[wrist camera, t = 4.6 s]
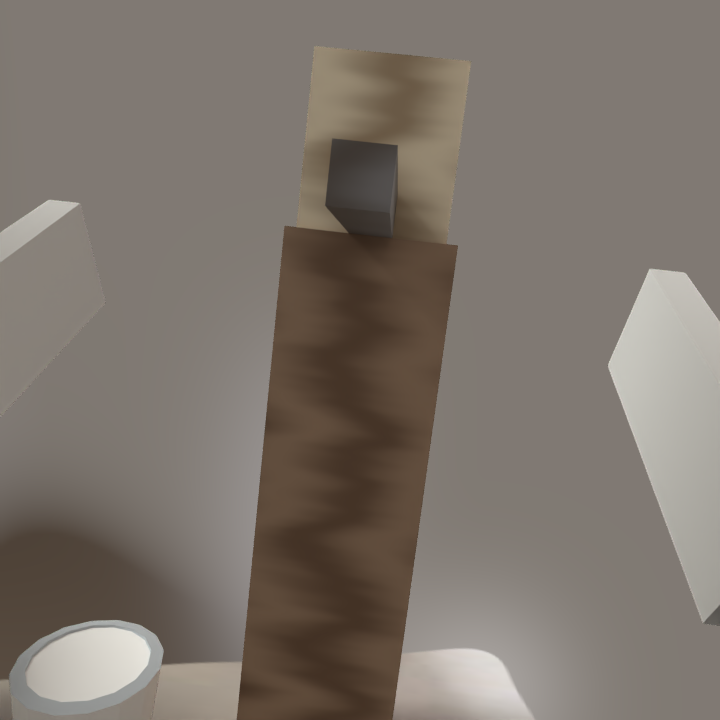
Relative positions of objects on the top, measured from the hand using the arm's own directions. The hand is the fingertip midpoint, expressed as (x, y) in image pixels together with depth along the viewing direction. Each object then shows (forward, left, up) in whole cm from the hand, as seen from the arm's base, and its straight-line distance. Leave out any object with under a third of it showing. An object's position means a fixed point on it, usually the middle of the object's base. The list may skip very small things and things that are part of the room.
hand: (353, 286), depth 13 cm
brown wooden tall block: (-1, +15, -27) cm, 31 cm away
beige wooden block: (0, +11, +2) cm, 11 cm away
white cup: (-12, +11, -27) cm, 31 cm away
